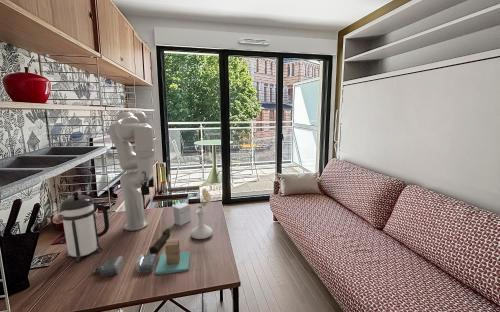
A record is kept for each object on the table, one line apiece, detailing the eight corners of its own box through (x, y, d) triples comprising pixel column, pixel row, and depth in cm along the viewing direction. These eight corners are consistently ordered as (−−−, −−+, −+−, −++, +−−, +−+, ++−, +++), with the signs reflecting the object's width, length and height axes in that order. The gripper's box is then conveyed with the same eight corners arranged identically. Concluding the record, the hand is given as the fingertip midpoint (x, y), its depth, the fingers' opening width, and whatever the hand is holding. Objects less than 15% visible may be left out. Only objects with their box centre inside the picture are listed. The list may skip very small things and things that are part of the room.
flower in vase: (203, 243, 126) (200, 195, 121) (186, 237, 131) (183, 192, 127) (218, 232, 137) (217, 187, 132) (202, 227, 143) (200, 184, 138)
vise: (99, 265, 109) (98, 257, 108) (156, 259, 113) (155, 251, 112) (91, 277, 101) (90, 268, 100) (152, 271, 105) (151, 262, 104)
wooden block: (168, 258, 112) (166, 239, 110) (180, 257, 113) (178, 238, 111) (166, 265, 107) (165, 245, 105) (179, 263, 108) (177, 244, 106)
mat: (161, 256, 115) (160, 254, 115) (190, 253, 117) (190, 251, 117) (155, 274, 103) (155, 272, 102) (188, 270, 105) (188, 268, 105)
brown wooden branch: (157, 255, 117) (156, 246, 116) (149, 254, 117) (148, 245, 116) (174, 235, 135) (174, 227, 134) (167, 234, 136) (167, 226, 135)
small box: (185, 218, 155) (183, 202, 153) (191, 220, 151) (190, 204, 149) (174, 223, 148) (172, 206, 146) (180, 225, 145) (179, 208, 143)
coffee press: (97, 260, 113) (88, 196, 107) (57, 264, 110) (46, 199, 105) (111, 240, 130) (104, 184, 124) (77, 243, 127) (68, 186, 121)
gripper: (140, 150, 118) (143, 184, 122) (130, 158, 101) (134, 198, 105) (157, 149, 119) (160, 184, 123) (150, 158, 103) (153, 197, 106)
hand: (148, 190), depth 114 cm, fingers open, 9 cm apart
